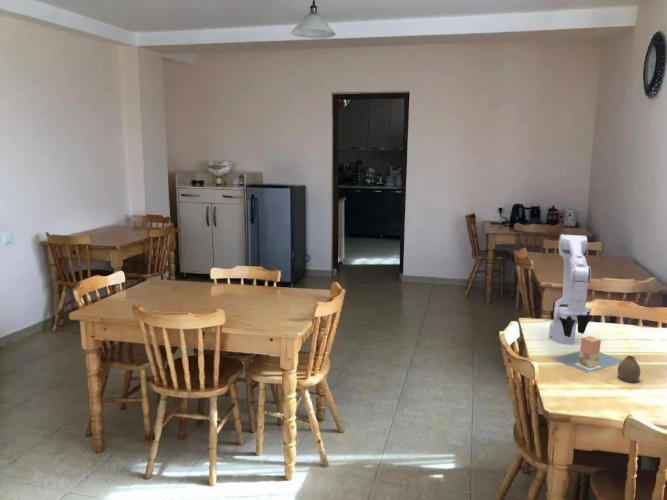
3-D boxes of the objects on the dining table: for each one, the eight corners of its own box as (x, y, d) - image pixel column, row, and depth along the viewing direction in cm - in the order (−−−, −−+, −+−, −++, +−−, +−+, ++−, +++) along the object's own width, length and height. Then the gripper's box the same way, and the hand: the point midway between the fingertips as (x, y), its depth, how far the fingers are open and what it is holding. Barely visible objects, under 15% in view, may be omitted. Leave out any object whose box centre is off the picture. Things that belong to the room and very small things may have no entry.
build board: (551, 360, 211) (551, 357, 211) (589, 350, 222) (589, 348, 221) (586, 374, 198) (587, 372, 198) (625, 363, 209) (625, 361, 209)
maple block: (578, 364, 205) (580, 351, 204) (586, 362, 207) (588, 349, 206) (589, 368, 201) (591, 355, 200) (597, 366, 203) (599, 353, 202)
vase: (611, 378, 195) (614, 354, 194) (626, 375, 198) (629, 352, 196) (628, 386, 189) (631, 361, 187) (643, 383, 192) (647, 359, 190)
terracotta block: (580, 351, 204) (581, 337, 203) (588, 349, 206) (589, 335, 205) (591, 355, 200) (592, 341, 199) (599, 353, 202) (600, 339, 201)
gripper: (574, 304, 199) (570, 341, 201) (600, 299, 206) (596, 334, 209) (557, 299, 205) (553, 335, 207) (583, 294, 212) (579, 329, 215)
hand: (574, 334), depth 208 cm, fingers open, 7 cm apart
